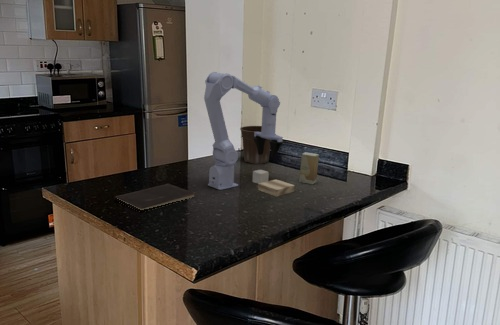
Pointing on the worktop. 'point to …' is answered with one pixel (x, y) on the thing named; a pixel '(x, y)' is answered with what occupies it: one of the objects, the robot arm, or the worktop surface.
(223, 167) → the robot arm
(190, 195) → the hardcover book
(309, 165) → the skincare box
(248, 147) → the plant pot
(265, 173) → the cream cube
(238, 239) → the worktop surface
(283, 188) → the oak plinth
